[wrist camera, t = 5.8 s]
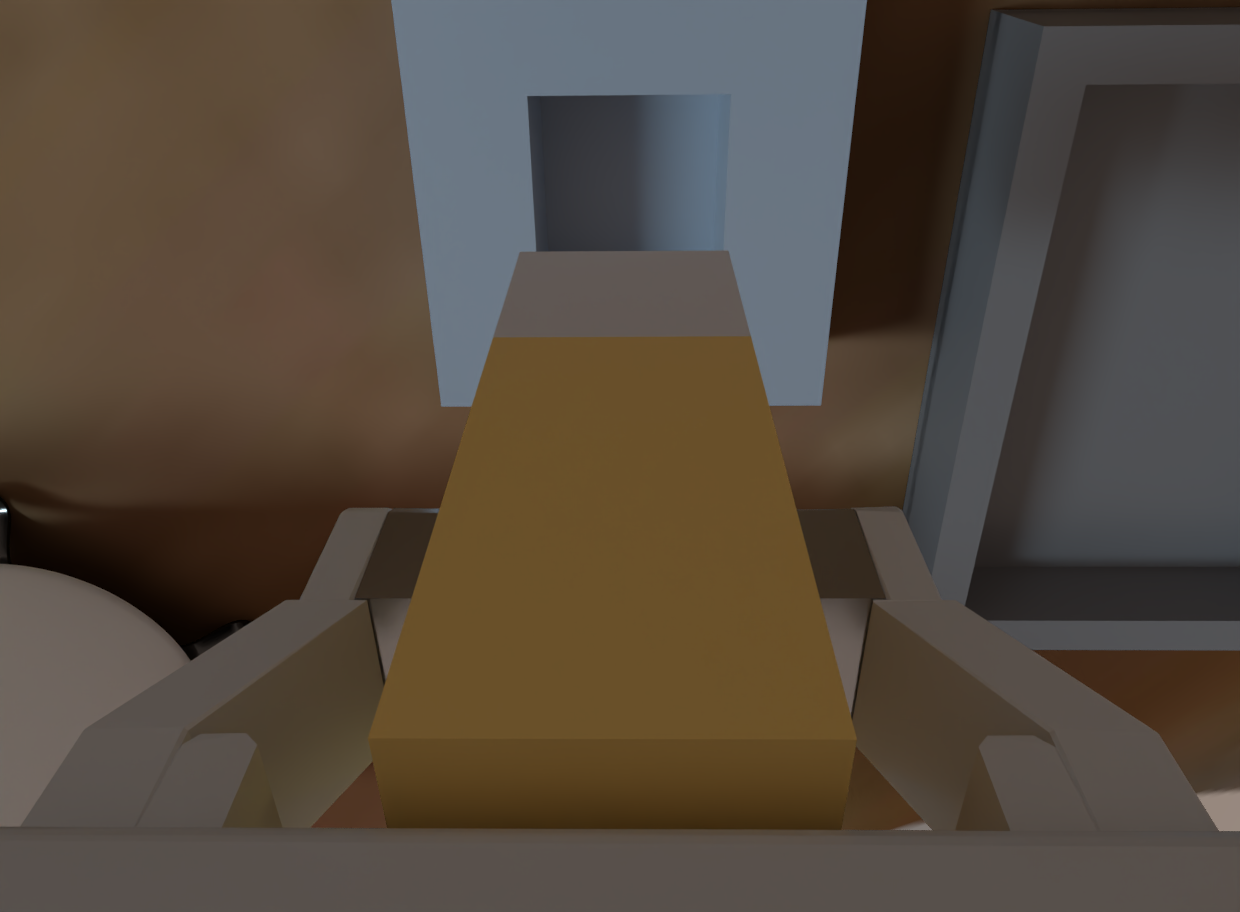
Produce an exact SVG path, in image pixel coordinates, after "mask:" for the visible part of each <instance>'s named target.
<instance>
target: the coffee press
mask: <svg viewBox="0 0 1240 912" xmlns="http://www.w3.org/2000/svg"><path fill="white" fill-rule="evenodd" d="M10 527H11V515H10V510H9V507H8V505H7V503H6V502H5V501H4V500H3V499H2V498H1V497H0V827H20V826H21V824H22V823H23V821H24V820H25V818H26V817H27V815H28V814H29V812H30V811H31V809H32V808H33V806H34V805H35V803H36V802H37V800H38V799H39V797H40V796H41V794H42V793H43V791H44V790H45V788H46V786H47V785H48V783H49V782H50V780H51V779H52V777H53V776H54V774H55V773H56V771H57V770H58V768H59V767H60V765H61V764H62V762H63V761H64V759H65V758H66V756H67V755H68V753H69V752H70V750H71V749H72V747H73V746H74V744H75V743H76V741H77V739H78V738H79V736H80V735H81V733H82V732H83V730H84V729H85V728H87V727H88V726H90V725H92V724H93V723H95V722H96V721H98V720H99V719H101V718H103V717H104V716H106V715H107V714H109V713H110V712H112V711H113V710H115V709H117V708H118V707H120V706H121V705H123V704H124V703H126V702H127V701H129V700H131V699H132V698H134V697H135V696H137V695H138V694H140V693H142V692H143V691H145V690H146V689H148V688H149V687H151V686H152V685H154V684H156V683H157V682H159V681H160V680H162V679H163V678H165V677H166V676H168V675H170V674H171V673H173V672H174V671H176V670H177V669H179V668H181V667H182V666H184V665H185V664H187V663H188V662H190V661H191V660H193V659H195V658H196V657H198V656H199V655H201V654H202V653H204V652H205V651H207V650H209V649H210V648H212V647H213V646H215V645H216V644H218V643H220V642H221V641H223V640H224V639H226V638H227V637H229V636H230V635H232V634H234V633H235V632H237V631H238V630H240V629H241V628H243V627H245V626H246V625H248V624H249V623H251V622H250V621H247V620H239V621H234V622H231V623H229V624H226V625H224V626H222V627H221V628H219V629H217V630H215V631H214V632H212V633H210V634H208V635H206V636H205V637H203V638H201V639H199V640H197V641H194V642H192V643H189V644H186V645H183V646H179V645H178V644H177V642H176V641H175V640H174V639H173V638H172V637H171V636H170V635H169V634H168V633H167V632H166V631H165V630H164V629H163V628H162V627H160V626H159V625H158V624H157V623H156V622H155V621H153V620H152V619H151V618H150V617H148V616H147V615H146V614H144V613H143V612H141V611H140V610H139V609H137V608H136V607H134V606H132V605H131V604H129V603H128V602H126V601H124V600H123V599H121V598H119V597H117V596H115V595H114V594H112V593H110V592H108V591H106V590H104V589H101V588H99V587H97V586H95V585H92V584H90V583H87V582H85V581H82V580H79V579H77V578H74V577H71V576H67V575H64V574H61V573H57V572H53V571H49V570H44V569H40V568H34V567H28V566H21V565H12V563H11V560H10V551H9V542H10Z"/></svg>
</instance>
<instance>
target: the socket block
mask: <svg viewBox="0 0 1240 912" xmlns="http://www.w3.org/2000/svg"><path fill="white" fill-rule="evenodd" d="M391 1H392V9H393V17H394V25H395V34H396V42H397V50H398V58H399V66H400V74H401V82H402V90H403V98H404V106H405V115H406V123H407V131H408V139H409V147H410V155H411V163H412V171H413V179H414V188H415V196H416V204H417V212H418V220H419V228H420V236H421V244H422V252H423V261H424V269H425V277H426V285H427V293H428V301H429V309H430V317H431V325H432V333H433V342H434V350H435V358H436V366H437V374H438V382H439V390H440V398H441V406H472V403H473V400H474V397H475V394H476V391H477V387H478V384H479V381H480V378H481V375H482V371H483V368H484V365H485V362H486V359H487V355H488V352H489V349H490V346H491V343H492V339H493V336H494V333H495V330H496V327H497V323H498V320H499V317H500V314H501V311H502V307H503V304H504V301H505V298H506V295H507V291H508V288H509V285H510V282H511V279H512V275H513V272H514V269H515V266H516V263H517V259H518V256H519V253H520V252H552V251H720V250H728V251H729V255H730V259H731V262H732V266H733V270H734V274H735V278H736V281H737V285H738V289H739V293H740V297H741V300H742V304H743V308H744V312H745V316H746V319H747V323H748V327H749V331H750V335H751V338H752V342H753V346H754V350H755V354H756V357H757V361H758V365H759V369H760V373H761V376H762V380H763V384H764V388H765V392H766V395H767V399H768V403H769V406H794V405H821V400H822V391H823V383H824V374H825V365H826V356H827V347H828V339H829V330H830V321H831V312H832V303H833V295H834V286H835V277H836V268H837V259H838V250H839V242H840V233H841V224H842V215H843V206H844V198H845V189H846V180H847V171H848V162H849V154H850V145H851V136H852V127H853V118H854V110H855V101H856V92H857V83H858V74H859V66H860V57H861V48H862V39H863V30H864V22H865V13H866V4H867V0H391Z"/></svg>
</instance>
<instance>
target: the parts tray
mask: <svg viewBox="0 0 1240 912" xmlns="http://www.w3.org/2000/svg"><path fill="white" fill-rule="evenodd" d="M903 513H904V515H905V518H906V520H907V522H908V524H909V527H910V529H911V531H912V533H913V536H914V538H915V540H916V542H917V545H918V547H919V549H920V551H921V554H922V556H923V558H924V561H925V563H926V565H927V567H928V570H929V572H930V574H931V576H932V579H933V581H934V583H935V585H936V588H937V590H938V592H939V594H940V597H941V599H942V600H956V601H958V602H959V603H961V604H962V605H964V606H965V607H967V608H968V609H970V610H971V611H973V612H974V613H976V614H977V615H979V616H981V617H982V618H984V619H985V620H987V621H988V622H990V623H991V624H993V625H994V626H996V627H997V628H999V629H1000V630H1002V631H1003V632H1005V633H1006V634H1008V635H1009V636H1011V637H1012V638H1014V639H1016V640H1017V641H1019V642H1020V643H1022V644H1023V645H1025V646H1026V647H1028V648H1029V649H1031V650H1240V7H1221V8H1121V9H1022V10H991V12H990V18H989V24H988V30H987V35H986V41H985V47H984V52H983V58H982V64H981V69H980V75H979V81H978V86H977V92H976V98H975V103H974V109H973V115H972V120H971V126H970V132H969V137H968V143H967V149H966V154H965V160H964V166H963V171H962V177H961V183H960V188H959V194H958V200H957V205H956V211H955V217H954V222H953V228H952V234H951V239H950V245H949V251H948V256H947V262H946V268H945V273H944V279H943V285H942V291H941V296H940V302H939V308H938V313H937V319H936V325H935V330H934V336H933V342H932V347H931V353H930V359H929V364H928V370H927V376H926V381H925V387H924V393H923V398H922V404H921V410H920V415H919V421H918V427H917V432H916V438H915V444H914V449H913V455H912V461H911V466H910V472H909V478H908V483H907V489H906V495H905V500H904V506H903Z"/></svg>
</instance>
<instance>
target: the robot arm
mask: <svg viewBox="0 0 1240 912" xmlns="http://www.w3.org/2000/svg"><path fill="white" fill-rule="evenodd" d="M438 512H439V509H426V508H393V509H390V508H348V509H346V510H344V511H343V512H342V513H341V514H340V515H339V517H338V519H337V522H336V524H335V526H334V528H333V530H332V532H331V534H330V536H329V538H328V541H327V543H326V545H325V547H324V549H323V551H322V553H321V555H320V557H319V559H318V562H317V564H316V566H315V568H314V570H313V572H312V574H311V576H310V578H309V581H308V583H307V585H306V587H305V589H304V591H303V593H302V595H301V597H300V599H299V600H285V601H284V602H282V603H280V604H279V605H277V606H276V607H274V608H273V609H271V610H269V611H268V612H266V613H265V614H263V615H262V616H260V617H259V618H257V619H255V620H254V621H252V622H251V623H249V624H248V625H246V626H245V627H243V628H241V629H240V630H238V631H237V632H235V633H234V634H232V635H230V636H229V637H227V638H226V639H224V640H223V641H221V642H220V643H218V644H216V645H215V646H213V647H212V648H210V649H209V650H207V651H205V652H204V653H202V654H201V655H199V656H198V657H196V658H195V659H193V660H191V661H190V662H188V663H187V664H185V665H184V666H182V667H181V668H179V669H177V670H176V671H174V672H173V673H171V674H170V675H168V676H166V677H165V678H163V679H162V680H160V681H159V682H157V683H156V684H154V685H152V686H151V687H149V688H148V689H146V690H145V691H143V692H142V693H140V694H138V695H137V696H135V697H134V698H132V699H131V700H129V701H127V702H126V703H124V704H123V705H121V706H120V707H118V708H117V709H115V710H113V711H112V712H110V713H109V714H107V715H106V716H104V717H103V718H101V719H99V720H98V721H96V722H95V723H93V724H92V725H90V726H88V727H87V728H85V729H84V730H83V732H82V733H81V735H80V736H79V738H78V739H77V741H76V743H75V744H74V746H73V747H72V749H71V750H70V752H69V753H68V755H67V756H66V758H65V759H64V761H63V762H62V764H61V765H60V767H59V768H58V770H57V771H56V773H55V774H54V776H53V777H52V779H51V780H50V782H49V783H48V785H47V786H46V788H45V790H44V791H43V793H42V794H41V796H40V797H39V799H38V800H37V802H36V803H35V805H34V806H33V808H32V809H31V811H30V812H29V814H28V815H27V817H26V818H25V820H24V821H23V823H22V824H21V826H20V827H0V912H1240V831H1219V830H1218V829H1217V827H1216V826H1215V824H1214V822H1213V821H1212V819H1211V818H1210V816H1209V814H1208V813H1207V811H1206V809H1205V808H1204V806H1203V805H1202V803H1201V801H1200V800H1199V798H1198V797H1197V795H1196V793H1195V792H1194V790H1193V788H1192V787H1191V785H1190V784H1189V782H1188V780H1187V779H1186V777H1185V776H1184V774H1183V772H1182V771H1181V769H1180V768H1179V766H1178V764H1177V763H1176V761H1175V759H1174V758H1173V756H1172V755H1171V753H1170V751H1169V750H1168V748H1167V747H1166V745H1165V743H1164V742H1163V740H1162V738H1161V737H1160V735H1159V734H1158V733H1157V732H1156V731H1154V730H1152V729H1151V728H1149V727H1148V726H1146V725H1145V724H1143V723H1142V722H1140V721H1139V720H1137V719H1136V718H1134V717H1133V716H1131V715H1130V714H1128V713H1127V712H1125V711H1124V710H1122V709H1121V708H1119V707H1117V706H1116V705H1114V704H1113V703H1111V702H1110V701H1108V700H1107V699H1105V698H1104V697H1102V696H1101V695H1099V694H1098V693H1096V692H1095V691H1093V690H1092V689H1090V688H1089V687H1087V686H1086V685H1084V684H1082V683H1081V682H1079V681H1078V680H1076V679H1075V678H1073V677H1072V676H1070V675H1069V674H1067V673H1066V672H1064V671H1063V670H1061V669H1060V668H1058V667H1057V666H1055V665H1054V664H1052V663H1051V662H1049V661H1047V660H1046V659H1044V658H1043V657H1041V656H1040V655H1038V654H1037V653H1035V652H1034V651H1032V650H1031V649H1029V648H1028V647H1026V646H1025V645H1023V644H1022V643H1020V642H1019V641H1017V640H1016V639H1014V638H1012V637H1011V636H1009V635H1008V634H1006V633H1005V632H1003V631H1002V630H1000V629H999V628H997V627H996V626H994V625H993V624H991V623H990V622H988V621H987V620H985V619H984V618H982V617H981V616H979V615H977V614H976V613H974V612H973V611H971V610H970V609H968V608H967V607H965V606H964V605H962V604H961V603H959V602H958V601H956V600H942V599H941V597H940V594H939V592H938V590H937V588H936V585H935V583H934V581H933V579H932V576H931V574H930V572H929V570H928V567H927V565H926V563H925V561H924V558H923V556H922V554H921V551H920V549H919V547H918V545H917V542H916V540H915V538H914V536H913V533H912V531H911V529H910V527H909V524H908V522H907V520H906V518H905V515H904V513H903V511H902V510H901V509H899V508H898V507H896V506H893V507H864V508H851V509H811V510H797V513H798V517H799V521H800V525H801V528H802V532H803V536H804V540H805V544H806V547H807V551H808V555H809V559H810V563H811V566H812V570H813V574H814V578H815V582H816V585H817V589H818V593H819V597H820V601H821V604H822V608H823V612H824V616H825V620H826V623H827V627H828V631H829V635H830V639H831V642H832V646H833V650H834V654H835V658H836V661H837V665H838V669H839V673H840V677H841V680H842V684H843V688H844V692H845V696H846V699H847V703H848V707H849V711H850V715H851V718H852V722H853V726H854V730H855V734H856V737H857V743H856V747H857V748H858V749H859V750H860V751H861V752H862V753H863V754H864V756H865V757H866V758H867V759H868V760H869V761H870V762H871V763H872V764H873V765H874V767H875V768H876V769H877V770H878V771H879V772H880V773H881V774H882V775H883V776H884V777H885V779H886V780H887V781H888V782H889V783H890V784H891V785H892V786H893V787H894V788H895V790H896V791H897V792H898V793H899V794H900V795H901V796H902V797H903V798H904V799H905V801H906V802H907V803H908V804H909V805H910V806H911V807H912V808H913V809H914V810H915V811H916V813H917V814H918V815H919V816H920V817H921V818H922V819H923V820H924V821H925V822H926V824H927V825H928V826H929V827H930V828H931V829H932V830H931V831H930V830H775V829H479V828H310V827H311V826H312V825H313V824H314V823H315V822H316V821H317V820H318V819H319V818H320V817H321V816H322V814H323V813H324V812H325V811H326V810H327V809H328V808H329V807H330V806H331V805H332V804H333V803H334V802H335V801H336V800H337V799H338V797H339V796H340V795H341V794H342V793H343V792H344V791H345V790H346V789H347V788H348V787H349V786H350V785H351V784H352V783H353V782H354V780H355V779H356V778H357V777H358V776H359V775H360V774H361V773H362V772H363V771H364V770H365V769H366V768H367V767H368V766H369V765H370V763H371V762H372V761H373V760H372V755H371V751H370V746H369V742H368V736H369V733H370V730H371V727H372V723H373V720H374V717H375V714H376V711H377V707H378V704H379V701H380V698H381V695H382V691H383V688H384V685H385V682H386V679H387V675H388V672H389V669H390V666H391V663H392V659H393V656H394V653H395V650H396V647H397V643H398V640H399V637H400V634H401V631H402V627H403V624H404V621H405V618H406V615H407V611H408V608H409V605H410V602H411V599H412V595H413V592H414V589H415V586H416V583H417V579H418V576H419V573H420V570H421V567H422V563H423V560H424V557H425V554H426V551H427V547H428V544H429V541H430V538H431V535H432V531H433V528H434V525H435V522H436V519H437V515H438Z"/></svg>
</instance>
